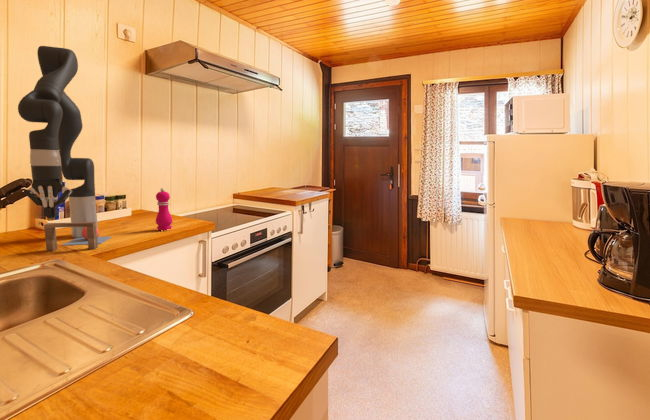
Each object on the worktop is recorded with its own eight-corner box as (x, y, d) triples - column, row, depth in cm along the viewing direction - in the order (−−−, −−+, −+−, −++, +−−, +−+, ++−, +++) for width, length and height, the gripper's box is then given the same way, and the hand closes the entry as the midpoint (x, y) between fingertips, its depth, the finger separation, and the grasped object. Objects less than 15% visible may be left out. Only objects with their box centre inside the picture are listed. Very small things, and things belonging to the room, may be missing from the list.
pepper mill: (166, 231, 158) (164, 188, 155) (152, 230, 160) (150, 188, 157) (176, 228, 165) (174, 187, 162) (162, 228, 167) (160, 187, 164)
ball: (81, 222, 138) (77, 234, 134) (98, 222, 140) (94, 233, 136) (86, 231, 142) (82, 243, 139) (102, 231, 144) (99, 242, 140)
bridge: (50, 249, 124) (48, 223, 122) (97, 247, 128) (95, 221, 126) (46, 251, 121) (44, 224, 120) (94, 249, 125) (92, 223, 124)
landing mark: (76, 238, 142) (76, 237, 142) (112, 236, 146) (111, 236, 146) (62, 245, 130) (61, 244, 130) (100, 243, 133) (100, 243, 133)
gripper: (75, 164, 113) (79, 216, 115) (28, 164, 110) (33, 217, 112) (65, 164, 106) (69, 219, 108) (13, 164, 102) (20, 221, 105)
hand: (51, 218), depth 110 cm, fingers closed
